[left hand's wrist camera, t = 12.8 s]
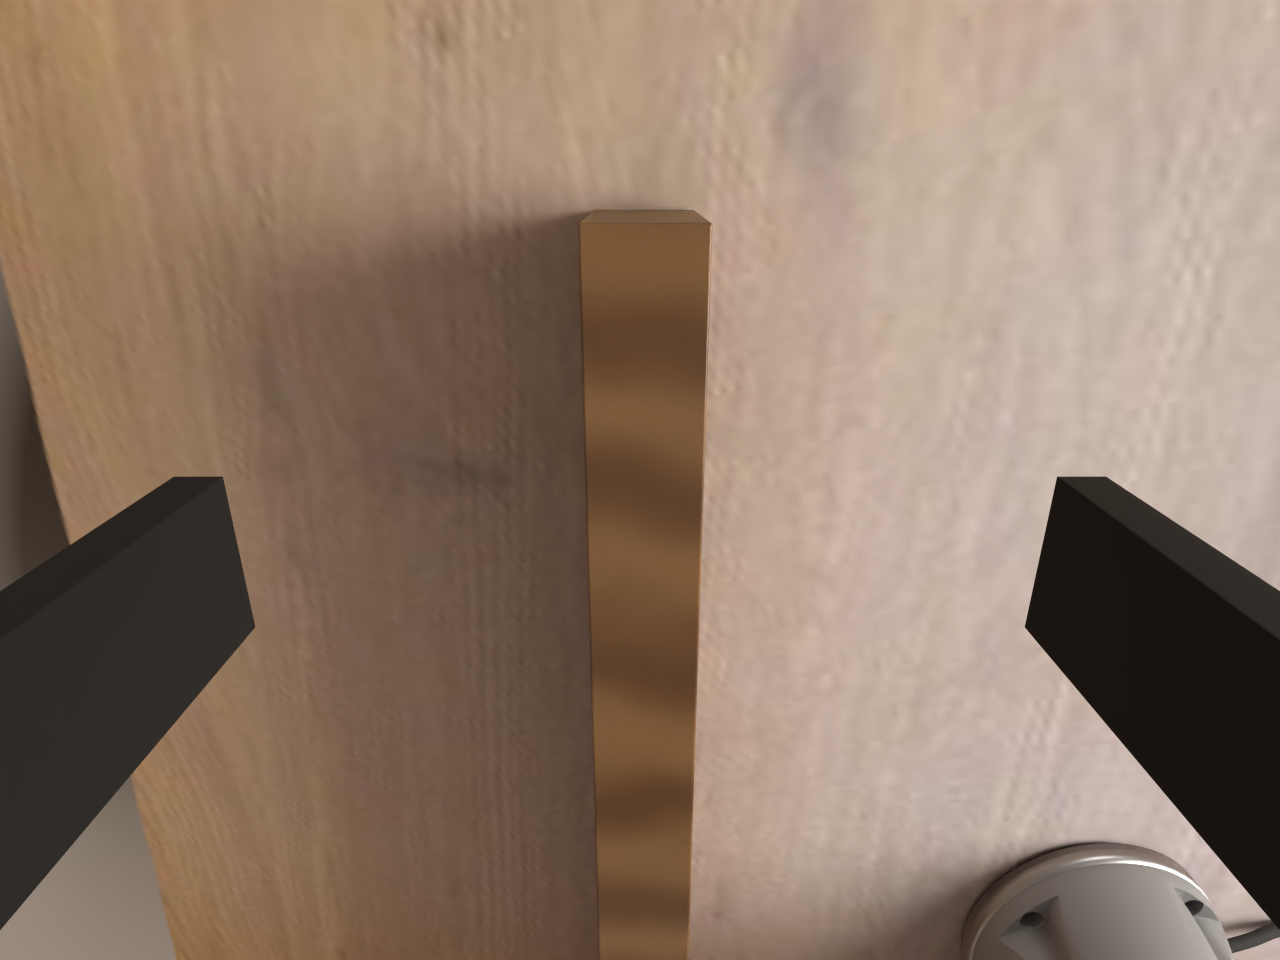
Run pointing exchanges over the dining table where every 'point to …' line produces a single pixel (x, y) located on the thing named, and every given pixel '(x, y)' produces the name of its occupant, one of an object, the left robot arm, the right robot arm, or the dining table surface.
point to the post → (644, 560)
